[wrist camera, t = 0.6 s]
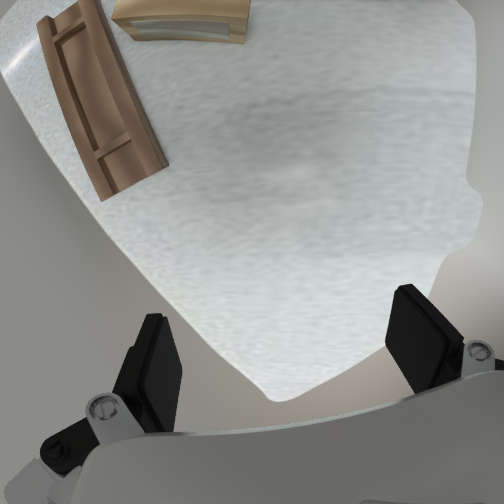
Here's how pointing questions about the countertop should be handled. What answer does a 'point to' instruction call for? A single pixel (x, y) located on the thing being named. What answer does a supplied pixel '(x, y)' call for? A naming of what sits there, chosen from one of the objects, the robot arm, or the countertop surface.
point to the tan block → (183, 19)
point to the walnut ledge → (99, 99)
